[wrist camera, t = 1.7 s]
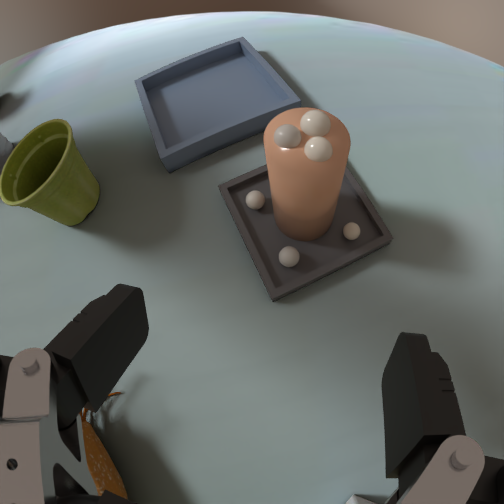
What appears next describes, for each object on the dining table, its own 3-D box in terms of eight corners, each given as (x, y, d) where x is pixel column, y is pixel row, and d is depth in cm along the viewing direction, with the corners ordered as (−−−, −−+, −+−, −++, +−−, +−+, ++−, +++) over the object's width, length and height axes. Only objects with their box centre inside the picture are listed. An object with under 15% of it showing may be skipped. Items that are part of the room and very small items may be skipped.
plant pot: (55, 174, 33) (14, 135, 25) (118, 156, 32) (80, 106, 24) (42, 245, 30) (-11, 213, 22) (108, 233, 29) (56, 191, 21)
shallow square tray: (169, 173, 30) (160, 159, 28) (141, 93, 35) (134, 80, 33) (301, 117, 31) (301, 100, 28) (245, 51, 36) (242, 36, 33)
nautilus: (72, 326, 27) (208, 402, 24) (20, 484, 20) (131, 563, 17) (21, 308, 20) (184, 413, 17) (-26, 495, 13) (99, 599, 10)
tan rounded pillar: (290, 251, 26) (287, 177, 15) (264, 201, 27) (247, 113, 17) (343, 225, 26) (370, 143, 15) (315, 179, 28) (322, 87, 17)
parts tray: (272, 301, 25) (271, 296, 23) (220, 192, 29) (215, 180, 27) (389, 243, 25) (396, 234, 23) (326, 147, 29) (327, 133, 27)
